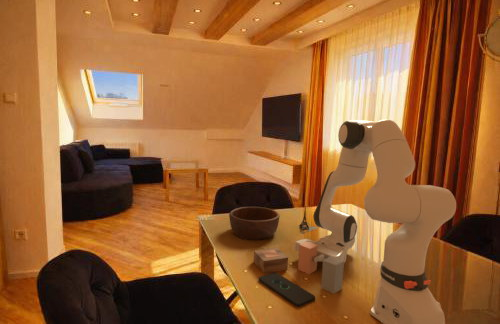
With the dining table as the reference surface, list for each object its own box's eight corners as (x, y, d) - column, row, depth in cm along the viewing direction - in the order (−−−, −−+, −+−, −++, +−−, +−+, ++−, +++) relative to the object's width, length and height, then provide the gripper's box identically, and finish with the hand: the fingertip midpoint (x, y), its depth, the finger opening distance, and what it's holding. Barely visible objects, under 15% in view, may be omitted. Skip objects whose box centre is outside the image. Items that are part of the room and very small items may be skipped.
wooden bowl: (218, 231, 161) (219, 211, 160) (255, 221, 178) (255, 203, 176) (251, 247, 143) (252, 224, 141) (289, 234, 159) (290, 214, 158)
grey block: (342, 288, 109) (344, 261, 108) (333, 293, 106) (335, 265, 104) (329, 283, 113) (331, 256, 111) (321, 287, 109) (322, 260, 108)
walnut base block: (287, 269, 122) (288, 257, 121) (263, 273, 119) (264, 260, 118) (276, 259, 131) (276, 247, 131) (253, 262, 128) (253, 250, 127)
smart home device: (275, 271, 118) (316, 296, 102) (275, 275, 118) (316, 301, 102) (257, 277, 113) (297, 304, 97) (257, 281, 113) (297, 309, 97)
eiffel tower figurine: (302, 234, 161) (303, 208, 159) (287, 229, 169) (289, 204, 167) (321, 228, 171) (322, 204, 169) (306, 223, 178) (307, 200, 177)
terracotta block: (316, 270, 122) (318, 245, 121) (308, 274, 119) (310, 248, 117) (306, 265, 126) (307, 241, 124) (298, 269, 122) (299, 244, 121)
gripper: (307, 233, 137) (286, 240, 128) (350, 247, 122) (330, 257, 113) (306, 247, 138) (285, 255, 129) (349, 263, 123) (328, 274, 114)
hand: (306, 256), depth 121 cm, fingers closed on terracotta block, 5 cm apart
